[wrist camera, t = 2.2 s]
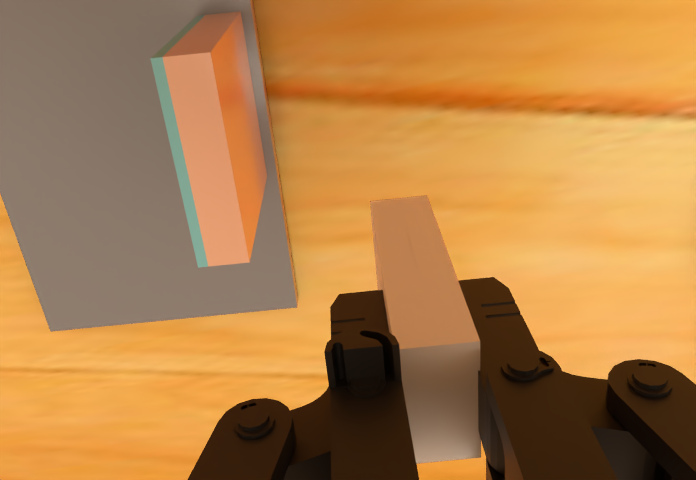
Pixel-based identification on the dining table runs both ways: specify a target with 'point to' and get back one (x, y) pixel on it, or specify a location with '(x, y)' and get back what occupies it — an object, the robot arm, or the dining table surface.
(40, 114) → the slate board
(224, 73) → the tile
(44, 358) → the dining table surface
